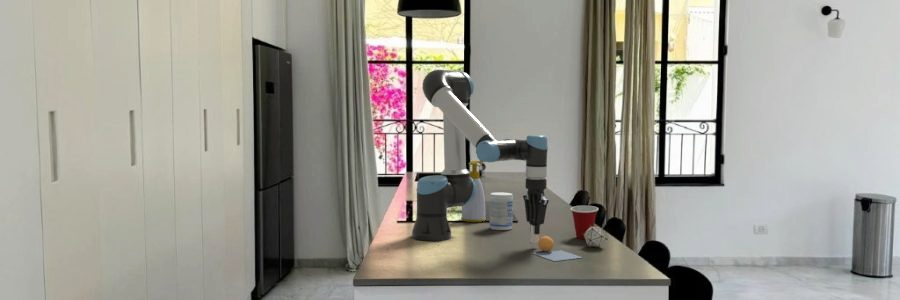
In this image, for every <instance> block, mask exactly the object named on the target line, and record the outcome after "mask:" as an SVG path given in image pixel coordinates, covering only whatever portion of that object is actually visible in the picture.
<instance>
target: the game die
mask: <svg viewBox="0 0 900 300" xmlns="http://www.w3.org/2000/svg"><path fill="white" fill-rule="evenodd" d="M589 226H590V228H589V229H588V230H587V231H586V232H585V233H584V234H583V233H582V235H584V237H585V239H584V240H585V242H586V246H585V247H586V248H587V247H588V246H590V247H596V248H598V249H599V248H600V249H601V247H600V246H601V245H602V244H603V243H604V241H605V240H607V241H608V240H609V239H608V238H606V236H605V233H604V229H603V228H604V225H602V226H601V227H598V226H594V227H591V225H589Z"/></svg>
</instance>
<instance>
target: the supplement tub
mask: <svg viewBox="0 0 900 300" xmlns="http://www.w3.org/2000/svg"><path fill="white" fill-rule="evenodd" d="M513 205H514V197H513V193H510V192H503V191H502V192H499V191H498V192H497V191H496V192H491V193H490V196H489V228H490V229H491V230H494V231H509V230H510V231H511V229H513V209H514V208H513V207H514V206H513Z"/></svg>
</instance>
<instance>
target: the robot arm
mask: <svg viewBox="0 0 900 300" xmlns="http://www.w3.org/2000/svg"><path fill="white" fill-rule="evenodd" d="M474 89H475V86H474V82H473V79H472V78H471V76H470V75H469V74H468V73H467V72H464V71H462V70H461V71H460V70H449V69H448V70H447V69H434V70H431V71H430V72H428V73H427V74H426V75H425V77H424V79H423V80H422V92H423V95H424V97H425V98H426V99H427V101H428V102H429V103H430V104H431V105H432V106H433V107H434V108H437V109H439V110H440V111H441V112H442V114H443V115H442V117H443V118H442V120H443V121H442V123H443V125H442V126H443V154H444V155H443V156H444V157H443V158H444V163H443V164H444V166H443V167H444V169H443V170H442V171H441V172H440V174H439V175H438V174H437V175H435V174H434V175H427V176H423V177H421V178H419V179H418V181H417V185H416V217H415V218H416V219H415V221H414V224H413V228H412V230H411V238H413V239H414V240H419V241H433V242H434V241H436V242H437V241H445V240H449V239H451V238H452V230H451V228H450V224H449V220H448V209H450V208H454V207H462V206H463V205H466V204H468V203H470V202H471V201H472V200H473V198H474V196H475V193H476V185H475V182H473V179H472V178H471V177H470V171H469V169H467V165H466V164H467V163H466V162H467V160H466V159H467V157H466V156H467V155H466V139H467V140H468V142H470V144H471V145H472V146H474V148H475V154H476V157H477V159H478V161H481V162H482V163H494V162H495V163H496V162H504V161H525V177H526V178H525V189H527V193H526V194H524V195H523V196H522V198H523V201H524V208H525V219H526V222H527V223H529V225H530V227H529V229H530V240H529V241H530V243H531V244H538V242H539V240H540V233H541V232H540V230H541V227H540V226H541V225H544V224H545V219H546V213H547V207H548V204H549V201H550V200H549V198H546V197H545V190H547V181H548V180H547V179H546V178H547V175H548V173H547V172H548V171H547V169H548V167H547V166H548V165H547V164H548V149H549V148H548V137H547V136H546V135H545V134H544V135H543V134H529V135H527V136H526V139H516V138H515V139H513V138H504V139H500V140H499V139H497V138H496V137H494V135H492V133H490V131H489V130H488V129H487V128H486V127H485V126H484V125H483V124H482V123H481V122H480V120H479V119H478V118H477V117H475V115H474V114H473V113H472V112H471V111H470V110H469V109H468V107H467V106H468V105H469V99H470V98H471V97H472V95H473V94H474Z"/></svg>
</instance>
